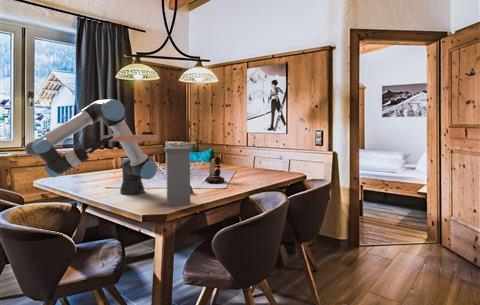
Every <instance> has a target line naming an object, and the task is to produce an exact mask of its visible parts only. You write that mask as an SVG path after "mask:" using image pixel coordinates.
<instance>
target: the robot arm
mask: <svg viewBox="0 0 480 305" xmlns="http://www.w3.org/2000/svg"><path fill="white" fill-rule="evenodd" d="M125 112H126V109H125V106H124V104H123V103H122V101H121V102H120V100H117V99H113V98H109V99H99V100H96V101H94V102H92V103H90V104H89V105H87V106H85V107H84V108H82V109H81V110H80V111H79V113H78V114H76V115H75V116H73V117H71V118H70V119H68V120H66V121H65V122H63V123H62V124H60V125H59V126H57V127H55V128H54V129H52V130H50V131H49V132H48V133H46V134H44V135H42V136H41V137H40V138H38V139H36V140H33V141H29V142H27V143H26V144H25V145H24V151H25V154H27V155H28V156H30V157H31V158H32V157H33V158H40V159H41V160H42V161H43V163H45V164H46V165H44V171H45V172H46V173H47V175H48V176H49V177H51V178H56V177H58V176H60V175H63V174H64V173H66V172H68V171H69V170H71V169H73V168H75V167H78V166H79V165H80V164H81V163H83V162H85V161H88V160H89V158H90V156H89V155H88V154H92V153H94V152H96V151H97V150H98V149H99V148H100V147H102V146H104V145H106V144H108V145H109V144H110V142H113V141H112V140H113V139H115V138H117V137H119V136H120V135H133V132H132V130H130V128H129V126H128V124H127V123H126V119H127V117H126V113H125ZM100 121H103V123H104V124H105V126H106V127H107V128H110V129H111V130H112V132H113V133H112V134H110V135H109V134H108V135H109V136H108V137H106V138H107V139H106V138H104V139H103V140H101V139H100V140H99V141H97V142H95V143H92V144H90V145H87V146H86V147H85V149H84V147H82V146H79V147H76V148H74V150H71V151H69V152H67V153H66V154H64V155H61V154H60V152H58V150H57V149H56V147H57V146H58V145H59V144H61V143H62V142H64V141H65V140H67V139H68V138H70V137H71V136H73V135H75V134H76V133H78V132H79V131H81V130H82V129H84V128H85V127H87V126H88V125H93V124H95V123H97V122H100ZM118 142H119V144H120V145H121V147H122V148H123V150H124V151H125V153H126V155H127V157H126V158H125V157H123V158H122V159H121V168H122V183H121V185H120V189H119V193H120V195H121V194H122V195H138V194H143V193H145V186H144V184H143V181H142V180H151V179H153V178H154V177H155V176H156V174H157V172H158V166H157V163H156V162H155V161H153V160H151V159H150V157H149V155H148V154H146V153H144V152H143V150H142V149H141V147H140V145H139V144H138V141H118Z"/></svg>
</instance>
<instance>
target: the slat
mask: <svg viewBox="0 0 480 305" xmlns="http://www.w3.org/2000/svg"><path fill="white" fill-rule="evenodd" d="M108 136H109V134H108V135H107V134H106V135H101V136H100V141H101V140H103V139H104V138H106V137H108ZM106 139H107V138H106ZM158 140H159V139H158V134H132V135H120V136H119V137H117V138H115V139H113V140H112V141H111V142H119V141H137V142H157V141H158Z"/></svg>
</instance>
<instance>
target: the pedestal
mask: <svg viewBox="0 0 480 305" xmlns="http://www.w3.org/2000/svg"><path fill="white" fill-rule="evenodd" d="M163 151H164V152H165V154H166V156H165V158H166V160H165V161H166V163H165V164H166V165H165V167H166V204H167V208H176V206H177V207H187V206H189V207H190V206H191V193H190V186H191V153H193V148H192V147H190V146H164V147H163Z"/></svg>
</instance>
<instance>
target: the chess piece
mask: <svg viewBox="0 0 480 305" xmlns="http://www.w3.org/2000/svg"><path fill="white" fill-rule="evenodd" d="M208 161H209V169H208V170H209V171H208V172H209V176H208V177H206V178H205V183H207V182H210V183H213V184H216V183H221V182H222V183H225V178H224V177H222V176H221V164H220V163H221V157H219V156H216V157H215V156H213V155H211V156H210V157H209V158H208Z"/></svg>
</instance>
